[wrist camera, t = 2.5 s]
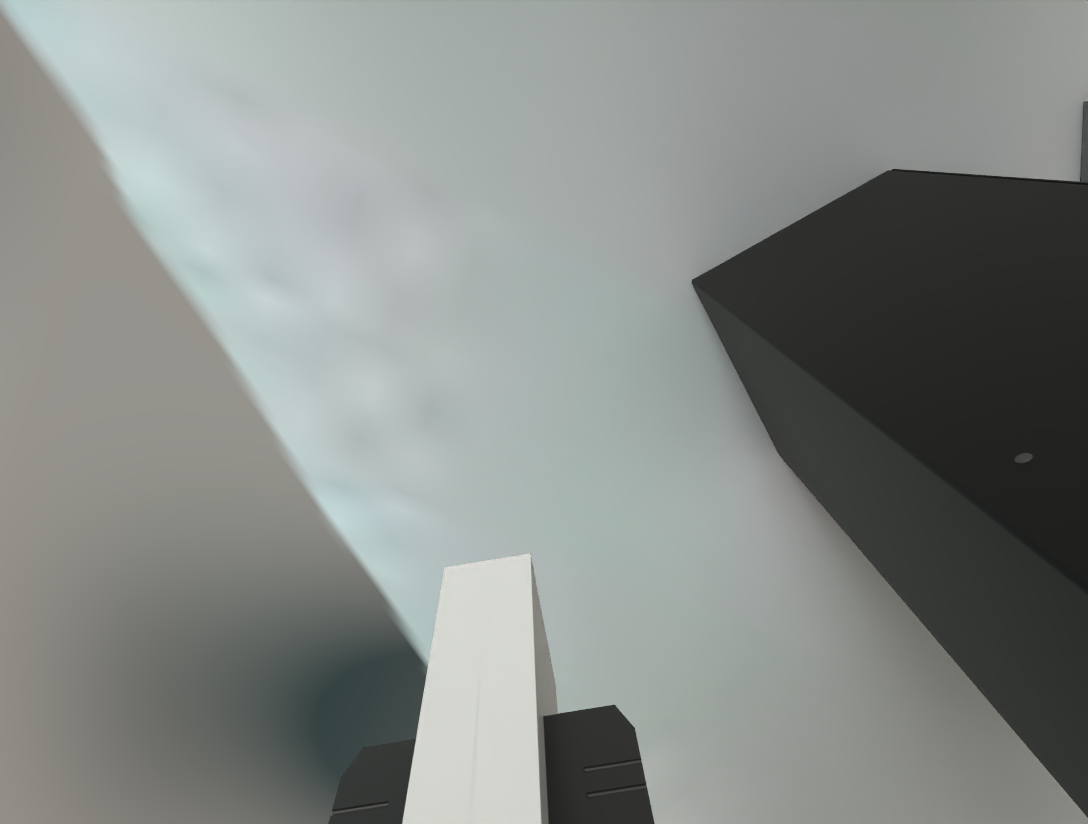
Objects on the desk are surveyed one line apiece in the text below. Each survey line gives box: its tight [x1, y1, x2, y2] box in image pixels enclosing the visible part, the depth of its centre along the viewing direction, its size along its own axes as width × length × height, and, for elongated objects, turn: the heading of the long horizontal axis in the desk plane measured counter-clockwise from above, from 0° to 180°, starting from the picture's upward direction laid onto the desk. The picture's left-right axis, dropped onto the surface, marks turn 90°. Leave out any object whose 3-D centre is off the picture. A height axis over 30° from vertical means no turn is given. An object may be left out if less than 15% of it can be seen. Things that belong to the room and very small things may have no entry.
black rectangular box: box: [692, 169, 1088, 817], centre depth 16 cm, size 8×8×28 cm
